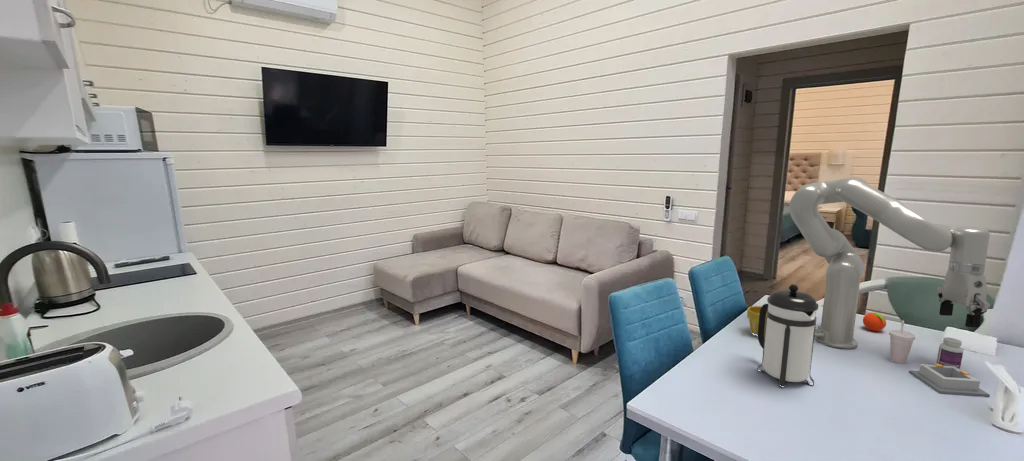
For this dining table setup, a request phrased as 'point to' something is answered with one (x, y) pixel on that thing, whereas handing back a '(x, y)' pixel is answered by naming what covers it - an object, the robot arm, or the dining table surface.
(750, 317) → the plant pot
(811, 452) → the dining table surface
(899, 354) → the smoothie
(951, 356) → the pill bottle
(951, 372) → the socket
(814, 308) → the coffee press
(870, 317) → the clementine
